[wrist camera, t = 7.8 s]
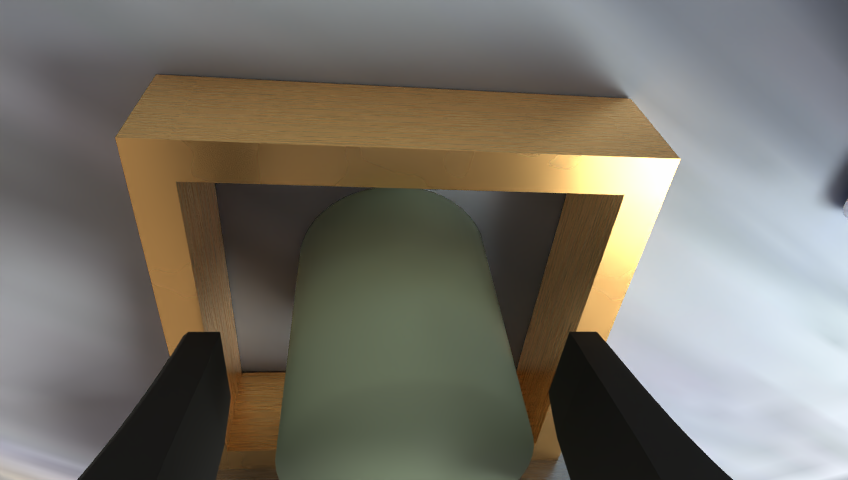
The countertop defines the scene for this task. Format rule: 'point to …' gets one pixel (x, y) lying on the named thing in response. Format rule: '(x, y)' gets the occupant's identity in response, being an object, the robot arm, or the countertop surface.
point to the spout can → (399, 349)
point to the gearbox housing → (388, 168)
